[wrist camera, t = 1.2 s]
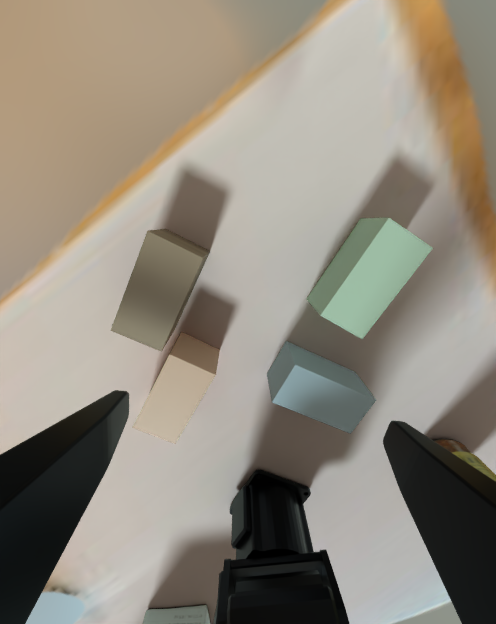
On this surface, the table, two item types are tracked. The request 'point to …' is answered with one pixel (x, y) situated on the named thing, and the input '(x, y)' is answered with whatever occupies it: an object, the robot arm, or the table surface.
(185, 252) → the walnut brick
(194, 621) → the skincare box
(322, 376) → the slate brick
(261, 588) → the robot arm
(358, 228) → the sage brick
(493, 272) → the table surface
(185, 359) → the tan brick
